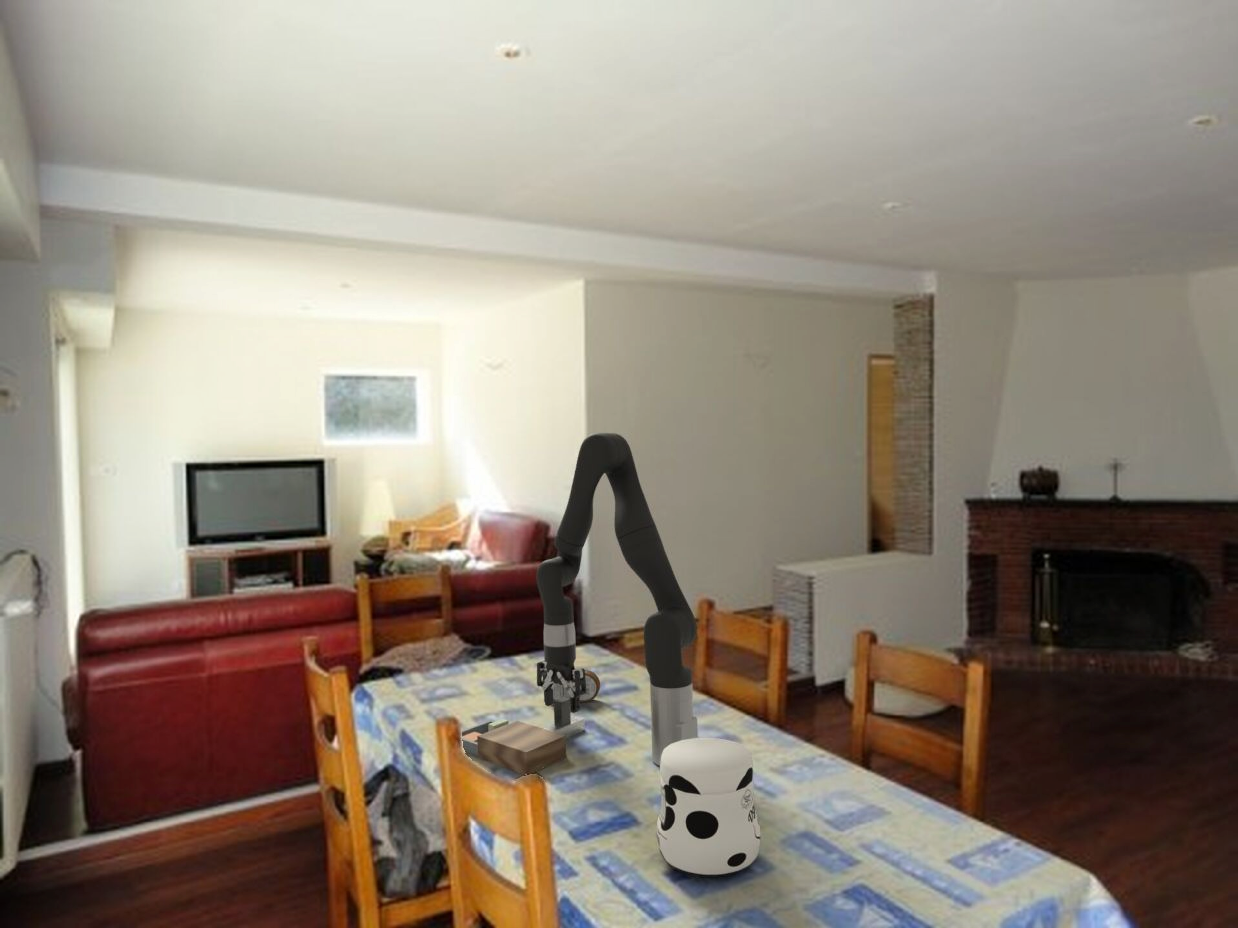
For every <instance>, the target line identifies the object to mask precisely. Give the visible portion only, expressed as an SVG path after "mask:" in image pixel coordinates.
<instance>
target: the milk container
mask: <svg viewBox="0 0 1238 928" xmlns="http://www.w3.org/2000/svg"><path fill="white" fill-rule="evenodd" d="M752 756H753V755H752V752H751V751H750V750H749V749H748V747H746V746H745V745H743V744H742V743H741V744H740V743H739V742H736V741H733V740H728V739H725V738H717V737H698V738H692V739H686V740H681V741H678V742H675V743H672V744H670V745H669V746H667V747H666V748H665V749H664V750H663V752H662V755H661V763H660V766H659V770H660V771H659V772H660V781H659V782H660V797H661V801H660V808H659V814H658V817H657V823H656V838H657V839H656V840H657V845H658V848H659V849H658V850H659V853H660V854H661V856H662V859H663V860H664V861H665V862H666V863H667V864H668V865H670V866H671V867H673V868H674V869H676V870H678V871H680V872H683V873H685V874H687V875H691V876H696V877H701V878H721V877H725V876H731V875H735V874H737V873H739V872H741V871H743V870H746V869H747V868H748V867H750V866H751V865H753V863H754V861H755V860H756V859H757V857H758V854H759V850H760V846H761V826H760V821H759V818H758V815H757V812H756V807H755V798H754V797H755V796H754V795H755V791H754V790H755V789H754V788H755V787H754V786H755V779H754V760H753V757H752Z"/></svg>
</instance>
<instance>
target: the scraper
mask: <svg viewBox="0 0 1238 928" xmlns="http://www.w3.org/2000/svg"><path fill="white" fill-rule="evenodd" d="M553 714H554V715H553V716H554V717H553V720H554V721H553V722H554V724H552V725H550V726H548V727H545V728H544V729H546V730H549V731H553V732H556V733H559V734H562V735H566V739H568V738H570V737H573V736H574V735H576V734H579V733H581V732H583V730H584V731H585V730H586V729H585V728H586V727H585V726H586V725H585V718H584V717H580V716H577V715H575V716H572V717H571V715H572V714H571V709H570V699H568V698H565V697H561V698H558V699H556V700H554V703H553ZM567 737H568V738H567Z"/></svg>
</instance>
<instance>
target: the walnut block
mask: <svg viewBox="0 0 1238 928" xmlns="http://www.w3.org/2000/svg"><path fill="white" fill-rule="evenodd" d="M477 742H478V758H477V759H480V760H482V761H485V762H488V763H491V764H494V765H497V766H500V767H503V768H504V769H508V770H510V771H514V772H516V773H519V774H522V775H524V776H526V775H525V774H529V775H531V774H533V773H536V772H538V771H540V770H542V769H544V768H543V767H545V768H546V767H549V766H551V765H553V764H555V763H558V762H559V761H562V760H564V759H567V757H568V756H567V738H566V735H562V734H559V733H556V732H553V731H549V730H546V729H545V728H542V727H539V726H535V725H532V724H529V723H525V722H523V721H519V720H516V721H512V722H510V723H509V724H507V725H505V726H502V727H499V728H497V729H494V730H492V731H489V732H486V733H484V734H481V735H479V736H477ZM541 768H542V769H541ZM535 771H536V772H535Z"/></svg>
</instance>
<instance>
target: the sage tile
mask: <svg viewBox="0 0 1238 928" xmlns="http://www.w3.org/2000/svg"><path fill="white" fill-rule="evenodd" d="M494 721H495V722H493V723H490V724H488V732H489V731H492V730H494V729H497V728H499V727H502V726H505V725H507V724H510V723H509V720H508V719H505V718H502V719H498V720H494Z"/></svg>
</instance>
